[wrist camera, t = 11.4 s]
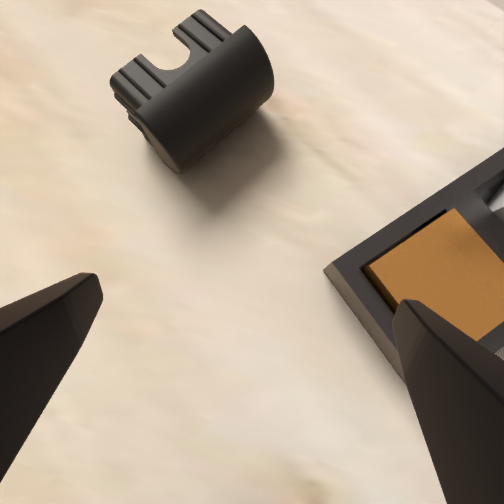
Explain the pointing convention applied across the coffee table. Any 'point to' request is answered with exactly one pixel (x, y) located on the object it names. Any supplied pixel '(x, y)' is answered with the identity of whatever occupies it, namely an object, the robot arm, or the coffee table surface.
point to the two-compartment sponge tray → (433, 263)
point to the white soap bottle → (498, 203)
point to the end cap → (196, 90)
